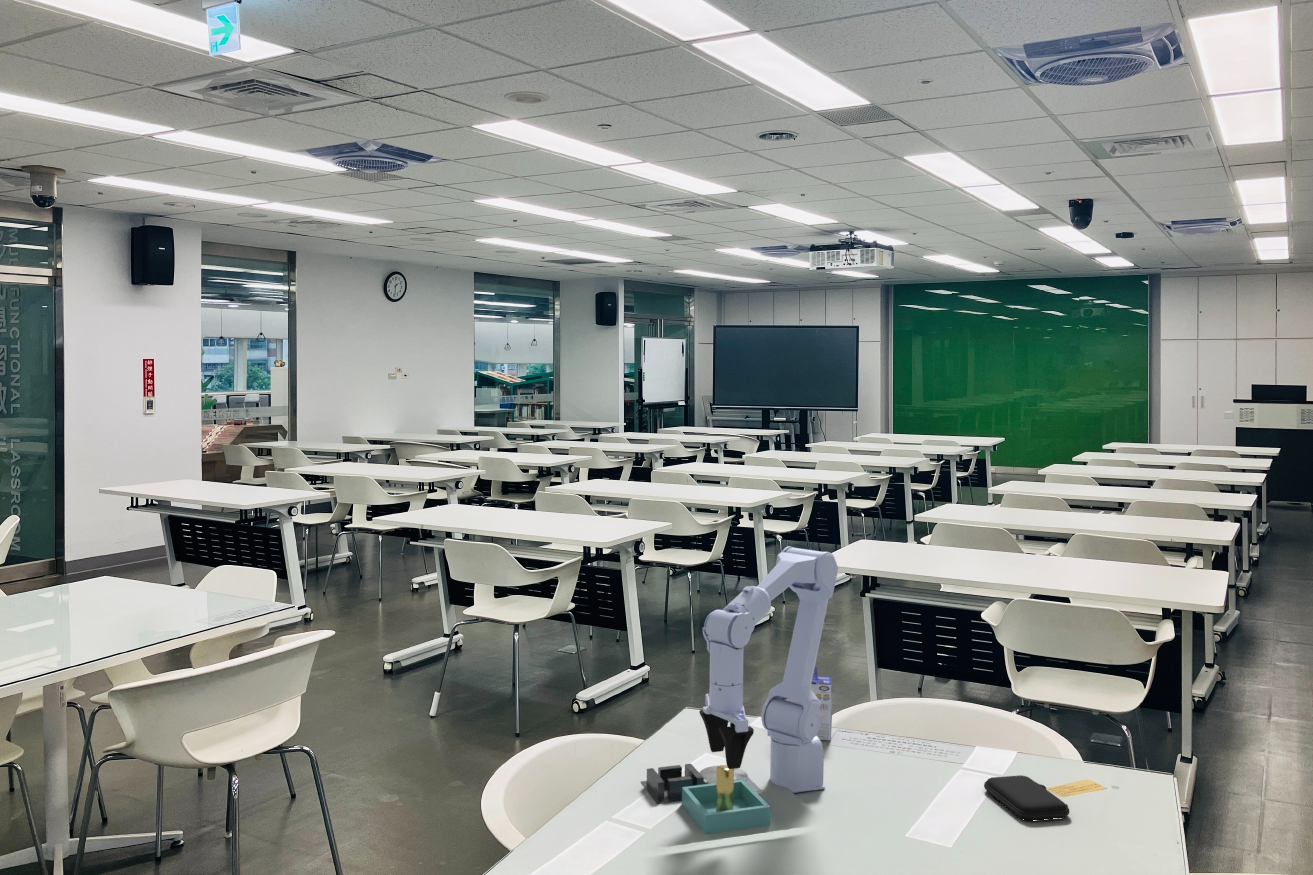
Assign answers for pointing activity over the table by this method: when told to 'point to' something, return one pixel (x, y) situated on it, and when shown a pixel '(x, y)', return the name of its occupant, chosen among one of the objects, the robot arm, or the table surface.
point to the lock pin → (724, 788)
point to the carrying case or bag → (1026, 798)
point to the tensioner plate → (683, 781)
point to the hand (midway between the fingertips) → (725, 759)
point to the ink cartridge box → (822, 703)
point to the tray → (744, 814)
